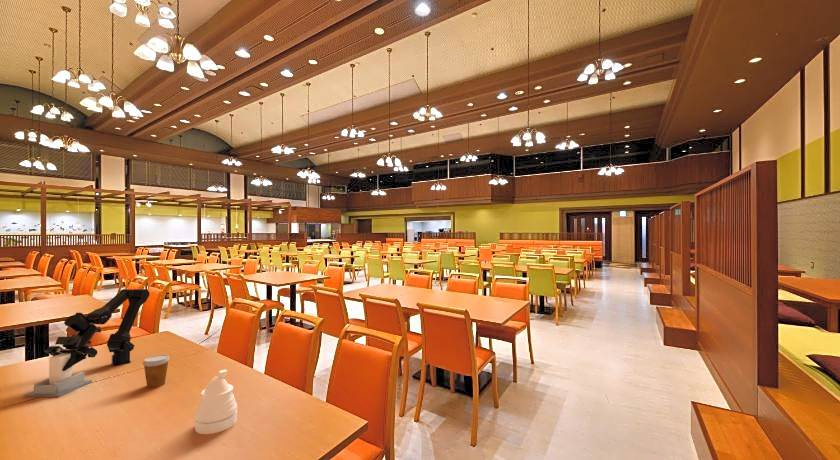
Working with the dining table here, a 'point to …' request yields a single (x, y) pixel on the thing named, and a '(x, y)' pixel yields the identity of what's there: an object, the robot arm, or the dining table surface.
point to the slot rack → (58, 386)
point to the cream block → (58, 368)
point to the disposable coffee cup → (156, 370)
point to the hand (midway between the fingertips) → (57, 370)
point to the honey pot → (216, 407)
